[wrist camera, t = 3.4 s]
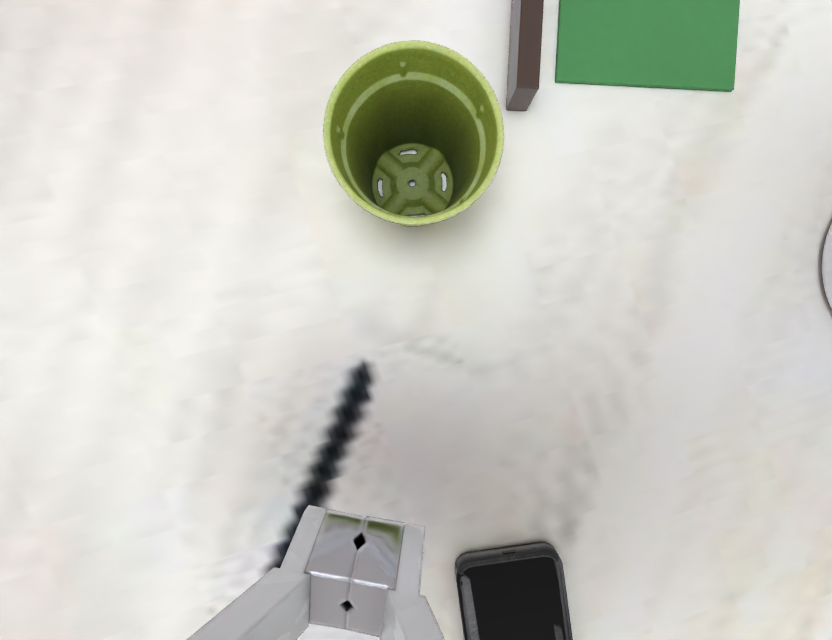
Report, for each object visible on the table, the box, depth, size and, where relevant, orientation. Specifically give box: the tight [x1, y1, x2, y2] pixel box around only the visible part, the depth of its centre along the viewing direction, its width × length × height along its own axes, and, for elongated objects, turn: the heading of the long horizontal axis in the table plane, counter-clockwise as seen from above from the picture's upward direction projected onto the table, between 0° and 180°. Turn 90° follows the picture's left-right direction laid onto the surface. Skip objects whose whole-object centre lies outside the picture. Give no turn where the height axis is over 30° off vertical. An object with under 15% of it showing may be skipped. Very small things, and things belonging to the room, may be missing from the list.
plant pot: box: [323, 40, 504, 226], centre depth 25 cm, size 9×9×9 cm
